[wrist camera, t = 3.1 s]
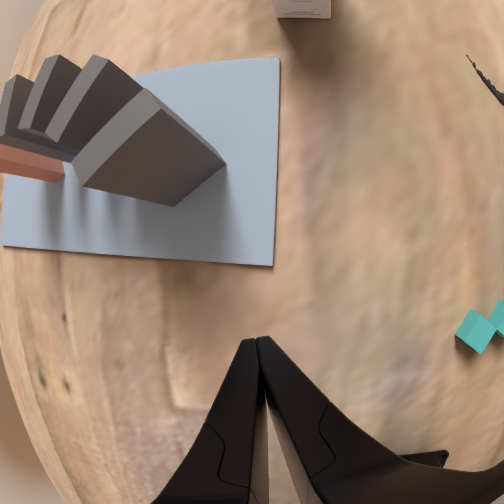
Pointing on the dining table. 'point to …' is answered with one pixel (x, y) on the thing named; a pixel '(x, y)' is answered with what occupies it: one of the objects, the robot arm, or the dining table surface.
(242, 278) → the dining table surface
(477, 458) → the dining table surface
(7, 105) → the domino
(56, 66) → the domino
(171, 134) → the domino
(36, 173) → the domino
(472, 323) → the alien figure
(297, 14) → the ink box
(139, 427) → the dining table surface
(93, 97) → the domino
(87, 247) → the mat
